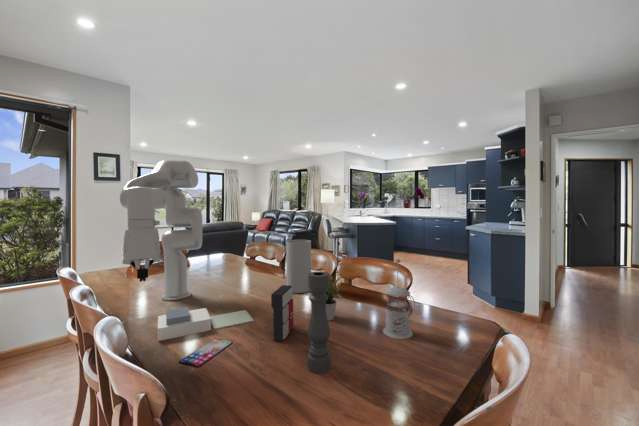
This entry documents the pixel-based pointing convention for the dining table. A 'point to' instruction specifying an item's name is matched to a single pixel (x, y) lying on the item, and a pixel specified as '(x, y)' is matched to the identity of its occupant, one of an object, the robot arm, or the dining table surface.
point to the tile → (177, 316)
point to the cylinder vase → (298, 264)
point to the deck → (184, 325)
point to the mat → (230, 319)
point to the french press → (398, 313)
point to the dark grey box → (282, 312)
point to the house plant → (331, 302)
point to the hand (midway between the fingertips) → (142, 280)
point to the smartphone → (205, 353)
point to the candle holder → (318, 324)
